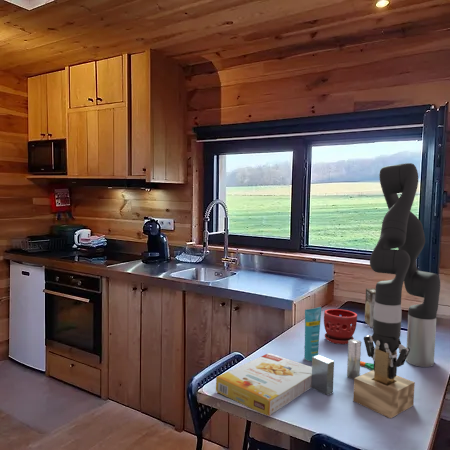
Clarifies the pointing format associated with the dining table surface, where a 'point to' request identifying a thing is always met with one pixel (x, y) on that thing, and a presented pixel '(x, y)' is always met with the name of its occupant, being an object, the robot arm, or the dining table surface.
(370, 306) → the coffee box
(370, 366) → the magnifying glass
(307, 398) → the dining table surface
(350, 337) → the plant pot
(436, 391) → the dining table surface
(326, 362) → the brushed grey-blue block
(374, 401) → the socket block
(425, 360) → the robot arm
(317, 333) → the tube
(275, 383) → the cereal box
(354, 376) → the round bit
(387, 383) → the square bit
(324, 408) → the dining table surface
